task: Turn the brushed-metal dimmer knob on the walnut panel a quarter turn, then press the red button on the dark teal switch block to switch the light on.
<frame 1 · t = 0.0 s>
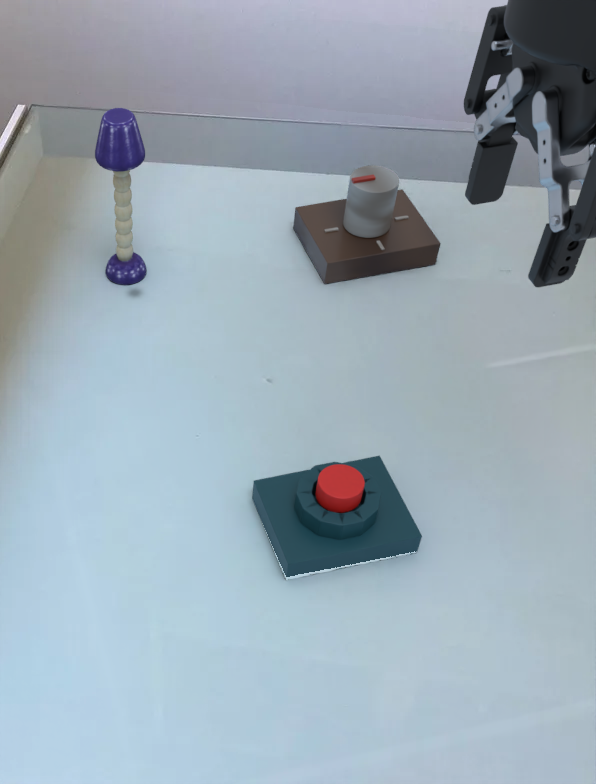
hand: (512, 239, 57), 26 cm above the table, tool pointing down, fingers open, 8 cm apart
light button: (339, 488, 75), point 4 cm above the table, slide at 0.1 cm
dimmer panel: (362, 246, 100), on the table
toy lamp: (126, 276, 99), on the table
switch block: (332, 525, 79), on the table
dimmer knob: (370, 200, 96), point 5 cm above the table, hinge at 0.0°
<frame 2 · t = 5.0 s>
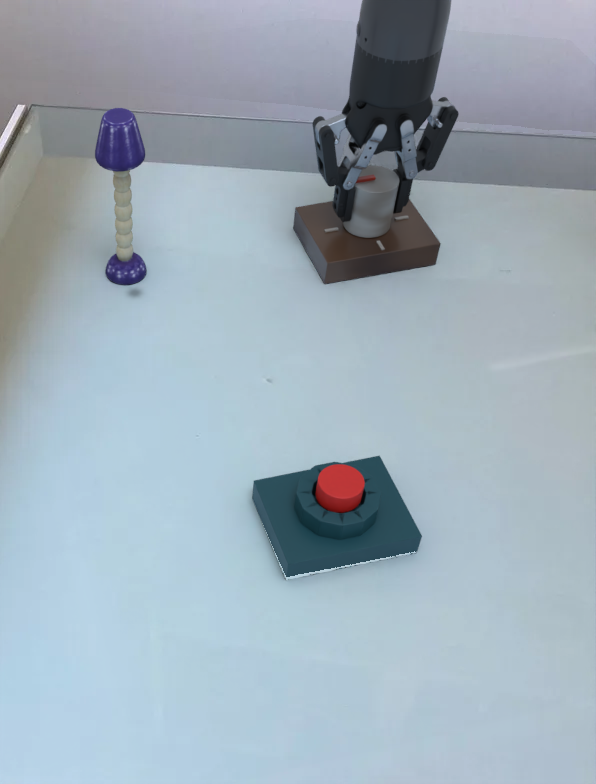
hand: (369, 212, 97), 4 cm above the table, tool pointing down, fingers closed on dimmer knob, 5 cm apart
dimmer knob: (370, 200, 96), point 5 cm above the table, hinge at -0.1°, touching gripper
everything else where it was.
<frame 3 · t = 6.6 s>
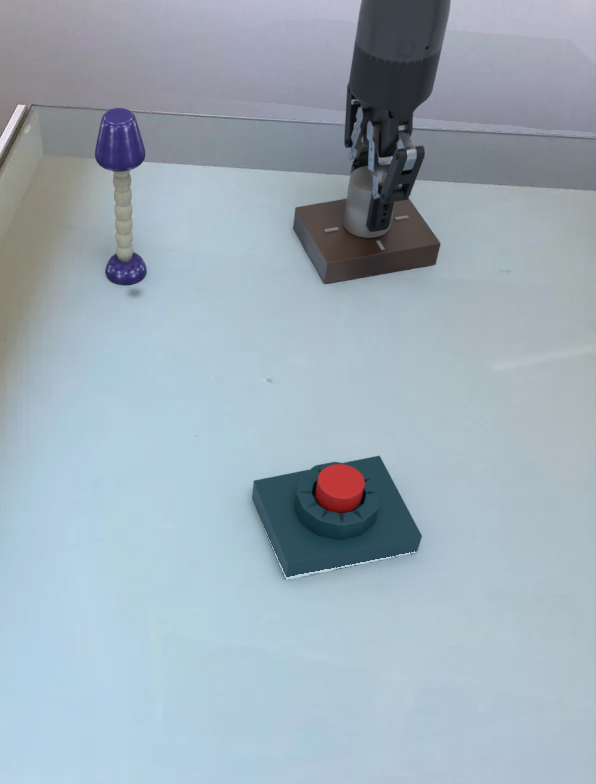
hand: (367, 212, 97), 4 cm above the table, tool pointing down, fingers closed on dimmer knob, 5 cm apart
dimmer knob: (370, 200, 96), point 5 cm above the table, hinge at 91.9°, touching gripper
everything else where it was.
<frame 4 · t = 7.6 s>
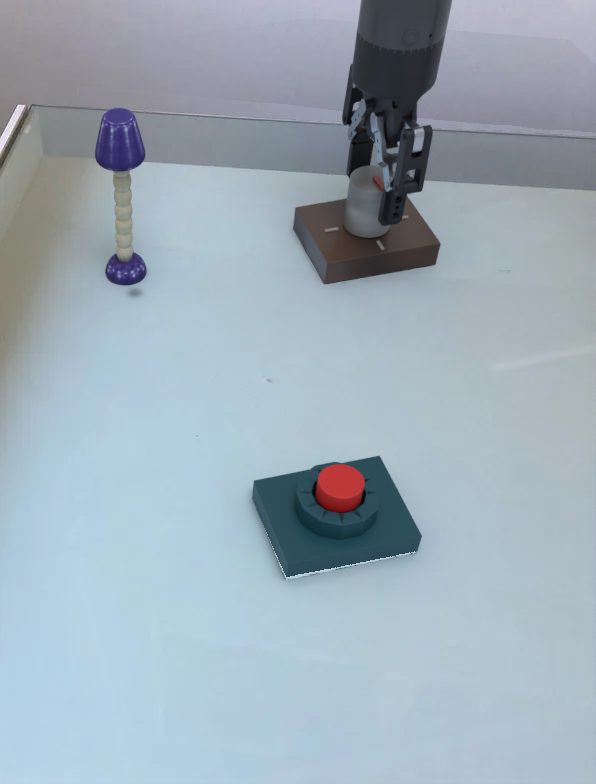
hand: (372, 199, 96), 6 cm above the table, tool pointing down, fingers open, 8 cm apart
dimmer knob: (370, 200, 96), point 5 cm above the table, hinge at 91.7°
everything else where it was.
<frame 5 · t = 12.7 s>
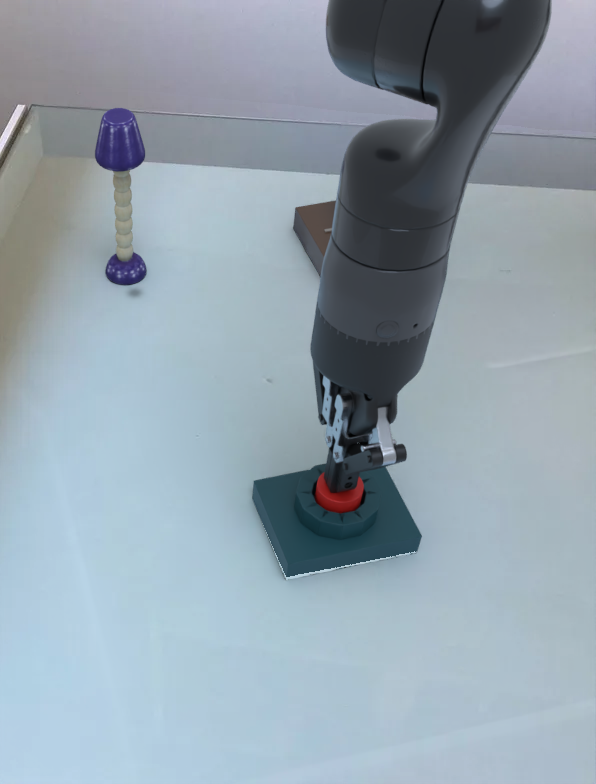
hand: (339, 484, 75), 5 cm above the table, tool pointing down, fingers closed
light button: (338, 492, 75), point 4 cm above the table, slide at -0.4 cm, touching gripper
everything else where it was.
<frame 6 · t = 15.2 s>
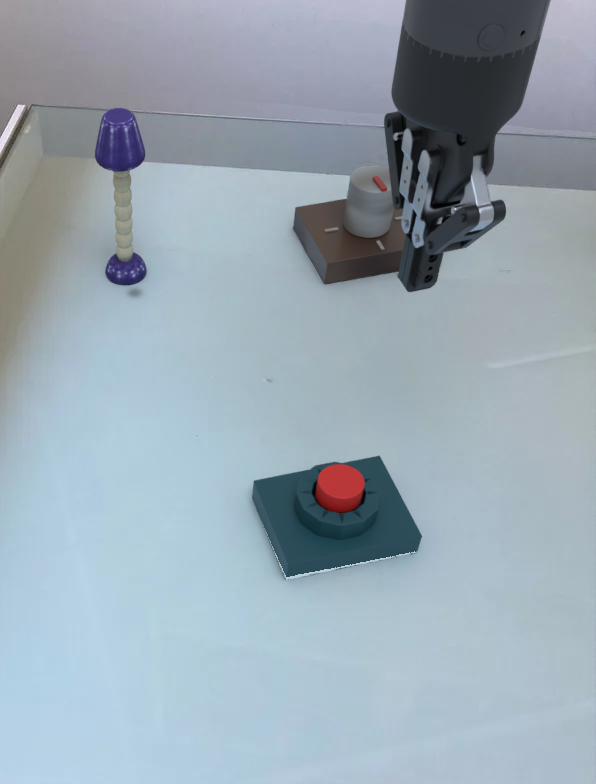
hand: (415, 283, 67), 19 cm above the table, tool pointing down, fingers closed
light button: (339, 488, 75), point 4 cm above the table, slide at 0.1 cm
everything else where it was.
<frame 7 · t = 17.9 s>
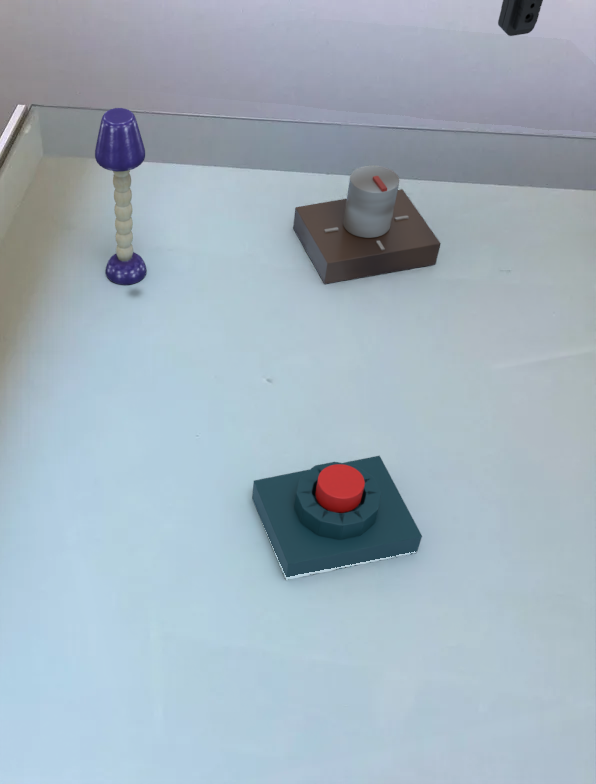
hand: (514, 29, 71), 27 cm above the table, tool pointing down, fingers closed
nothing on the table moved.
at the end: dimmer knob at +92° (first picture: +0°); light button pushed in 1.1 cm at the most during the clip, back to where it started at the end; light button slide at 0.1 cm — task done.
